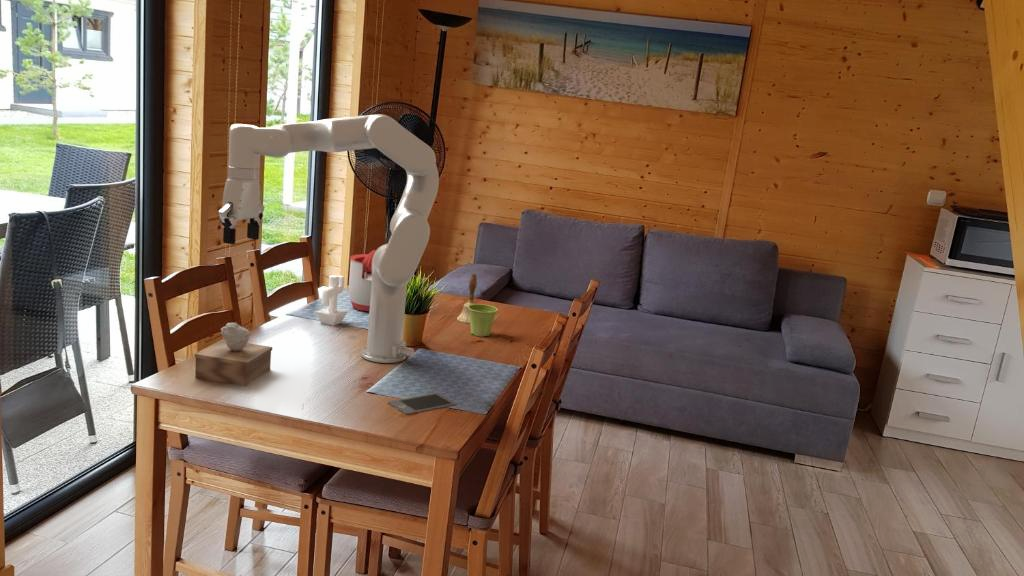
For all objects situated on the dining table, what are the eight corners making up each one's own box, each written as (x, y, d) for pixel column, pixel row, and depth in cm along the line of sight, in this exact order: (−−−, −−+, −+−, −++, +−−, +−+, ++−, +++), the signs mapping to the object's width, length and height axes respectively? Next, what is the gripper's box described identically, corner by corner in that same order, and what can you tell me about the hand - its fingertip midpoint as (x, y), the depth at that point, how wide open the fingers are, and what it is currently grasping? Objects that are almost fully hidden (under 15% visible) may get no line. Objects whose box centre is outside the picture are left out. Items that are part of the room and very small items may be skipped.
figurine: (312, 323, 250) (315, 276, 246) (329, 317, 258) (332, 271, 255) (332, 328, 247) (336, 280, 244) (349, 321, 256) (352, 275, 253)
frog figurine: (218, 347, 201) (219, 319, 199) (247, 346, 204) (248, 319, 203) (221, 355, 196) (222, 327, 194) (252, 353, 199) (253, 326, 197)
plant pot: (494, 339, 255) (497, 313, 253) (464, 336, 255) (467, 309, 253) (495, 331, 264) (498, 305, 262) (466, 328, 264) (469, 302, 262)
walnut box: (271, 369, 207) (272, 347, 206) (246, 386, 194) (247, 362, 193) (221, 361, 209) (222, 339, 207) (193, 377, 196) (194, 353, 194)
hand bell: (454, 316, 277) (458, 270, 273) (477, 317, 279) (482, 271, 276) (459, 323, 269) (464, 276, 265) (484, 324, 272) (489, 277, 268)
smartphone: (437, 394, 204) (437, 392, 204) (457, 406, 198) (457, 403, 198) (386, 404, 194) (386, 401, 194) (405, 416, 188) (406, 413, 188)
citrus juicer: (343, 313, 265) (347, 253, 260) (348, 300, 282) (353, 243, 277) (391, 317, 267) (396, 257, 262) (394, 304, 283) (399, 247, 279)
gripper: (251, 170, 214) (249, 234, 218) (208, 173, 198) (206, 243, 202) (276, 174, 212) (273, 239, 216) (234, 178, 196) (232, 247, 200)
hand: (241, 241), depth 209 cm, fingers open, 9 cm apart
